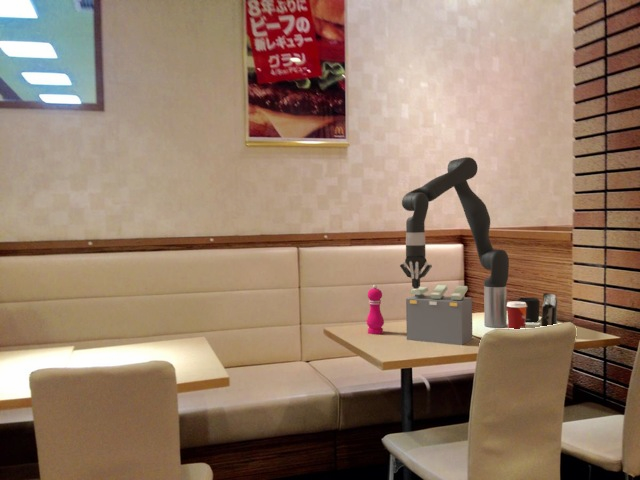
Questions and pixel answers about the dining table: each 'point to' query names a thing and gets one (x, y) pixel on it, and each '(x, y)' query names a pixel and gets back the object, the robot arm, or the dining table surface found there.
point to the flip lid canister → (516, 314)
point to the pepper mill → (375, 312)
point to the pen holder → (531, 309)
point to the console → (439, 319)
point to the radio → (549, 310)
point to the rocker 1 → (419, 290)
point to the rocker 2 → (438, 291)
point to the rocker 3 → (458, 292)
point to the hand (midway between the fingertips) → (416, 288)
